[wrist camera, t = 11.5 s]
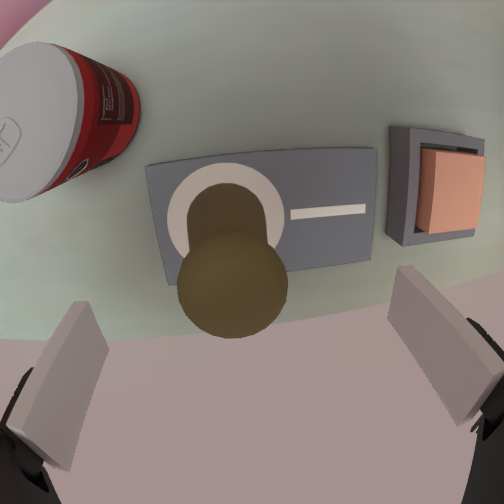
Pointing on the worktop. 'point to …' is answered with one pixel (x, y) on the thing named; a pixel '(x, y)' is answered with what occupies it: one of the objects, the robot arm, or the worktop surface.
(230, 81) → the worktop surface
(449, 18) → the worktop surface
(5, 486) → the robot arm
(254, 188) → the slate board
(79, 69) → the canned food
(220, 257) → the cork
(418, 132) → the button housing
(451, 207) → the button
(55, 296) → the worktop surface
